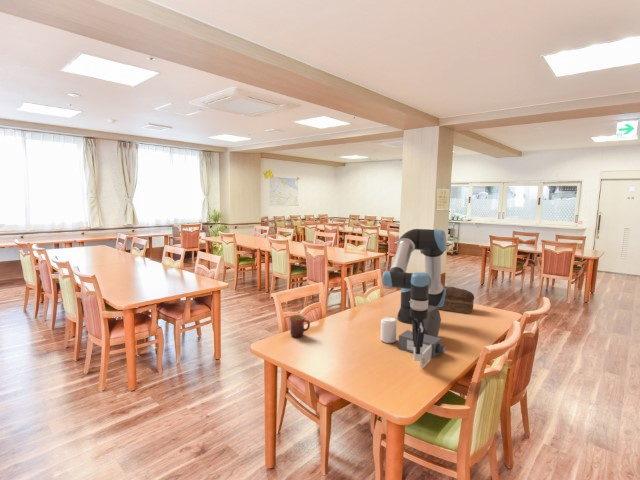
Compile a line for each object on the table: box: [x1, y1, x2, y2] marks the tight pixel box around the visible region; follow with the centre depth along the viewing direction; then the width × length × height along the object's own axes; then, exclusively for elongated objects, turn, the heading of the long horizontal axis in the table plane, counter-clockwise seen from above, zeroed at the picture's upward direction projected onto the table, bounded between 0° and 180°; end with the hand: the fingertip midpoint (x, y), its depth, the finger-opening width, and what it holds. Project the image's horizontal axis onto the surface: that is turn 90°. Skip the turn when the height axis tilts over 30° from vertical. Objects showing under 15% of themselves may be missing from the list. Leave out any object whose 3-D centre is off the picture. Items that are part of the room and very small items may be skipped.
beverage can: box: [380, 316, 397, 344], centre depth 191 cm, size 8×8×12 cm
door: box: [419, 344, 433, 369], centre depth 164 cm, size 14×2×7 cm, turn 145°
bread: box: [438, 285, 475, 315], centre depth 250 cm, size 15×32×16 cm, turn 61°
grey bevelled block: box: [423, 305, 442, 338], centre depth 194 cm, size 17×8×21 cm
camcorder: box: [397, 329, 446, 359], centre depth 178 cm, size 21×10×8 cm, turn 52°
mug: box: [288, 314, 311, 338], centre depth 197 cm, size 12×9×10 cm
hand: (416, 359), depth 160 cm, fingers closed
